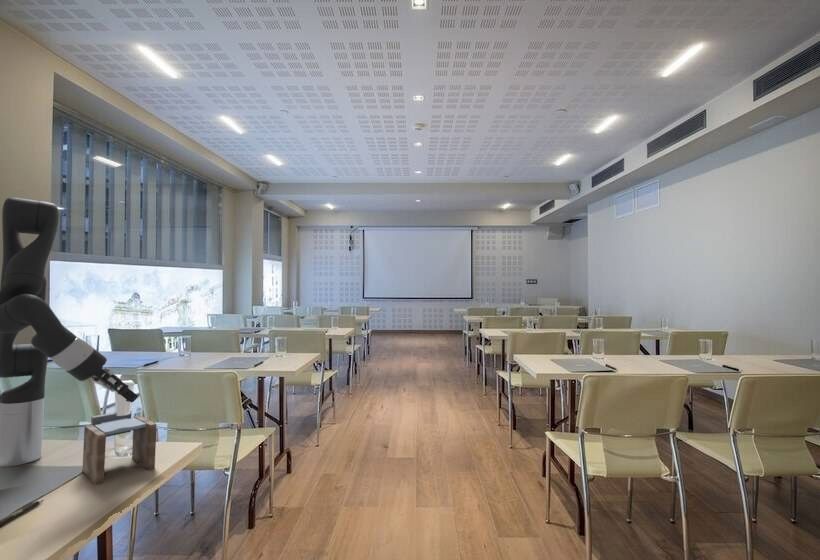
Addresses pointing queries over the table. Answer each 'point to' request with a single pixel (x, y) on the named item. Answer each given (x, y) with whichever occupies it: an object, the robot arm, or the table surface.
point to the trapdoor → (116, 423)
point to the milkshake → (123, 400)
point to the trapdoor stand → (97, 440)
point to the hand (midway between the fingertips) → (131, 398)
